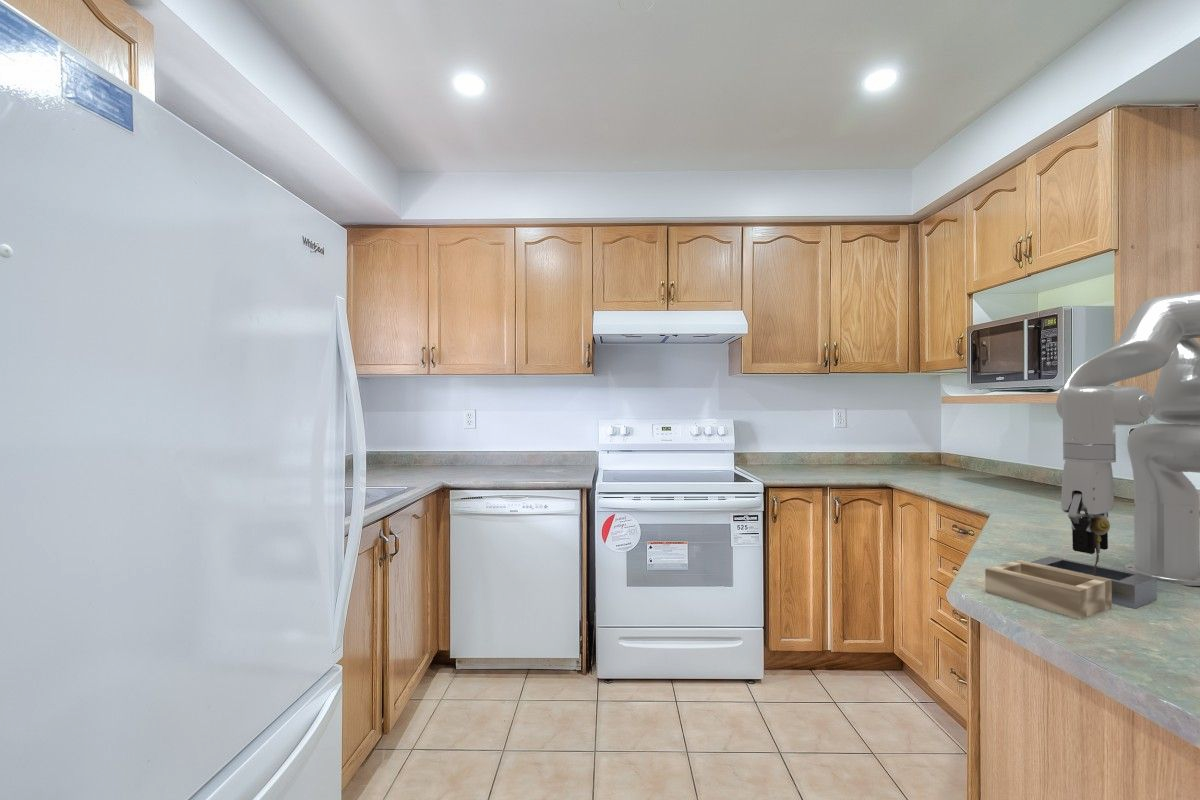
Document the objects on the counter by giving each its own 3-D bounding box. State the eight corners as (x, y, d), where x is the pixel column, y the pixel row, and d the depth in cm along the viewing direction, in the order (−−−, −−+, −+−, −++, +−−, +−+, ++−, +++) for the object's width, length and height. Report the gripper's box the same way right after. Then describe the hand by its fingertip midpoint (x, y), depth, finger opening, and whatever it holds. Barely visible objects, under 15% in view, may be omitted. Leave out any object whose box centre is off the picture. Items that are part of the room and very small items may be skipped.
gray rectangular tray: (1050, 575, 116) (1050, 556, 116) (1156, 599, 102) (1156, 577, 102) (1027, 583, 111) (1027, 562, 111) (1134, 609, 97) (1134, 585, 97)
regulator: (1116, 581, 102) (1116, 498, 103) (1091, 580, 103) (1091, 497, 103) (1089, 570, 110) (1089, 492, 110) (1066, 568, 111) (1066, 491, 111)
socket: (1019, 585, 109) (1018, 559, 109) (1111, 608, 97) (1111, 579, 97) (985, 596, 103) (985, 568, 103) (1079, 622, 91) (1079, 591, 91)
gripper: (1084, 449, 114) (1085, 539, 114) (1043, 454, 106) (1044, 552, 106) (1133, 451, 107) (1134, 548, 107) (1093, 457, 99) (1095, 561, 99)
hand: (1090, 549), depth 106 cm, fingers closed on regulator, 4 cm apart
